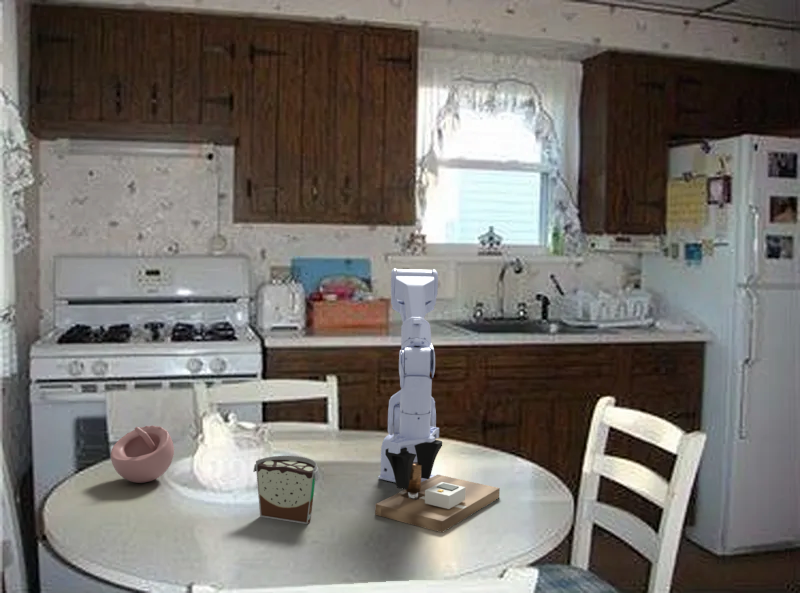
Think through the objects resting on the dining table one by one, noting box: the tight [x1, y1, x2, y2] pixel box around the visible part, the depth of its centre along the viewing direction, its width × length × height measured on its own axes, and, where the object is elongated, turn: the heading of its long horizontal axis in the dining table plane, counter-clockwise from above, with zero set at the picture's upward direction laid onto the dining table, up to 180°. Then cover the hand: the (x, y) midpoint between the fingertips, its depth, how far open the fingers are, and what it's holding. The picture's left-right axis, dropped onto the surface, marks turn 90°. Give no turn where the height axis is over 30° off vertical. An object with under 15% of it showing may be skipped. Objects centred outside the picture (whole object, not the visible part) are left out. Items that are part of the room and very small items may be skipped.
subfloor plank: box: [374, 474, 500, 533], centre depth 144 cm, size 14×22×2 cm, turn 147°
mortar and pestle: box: [110, 425, 175, 484], centre depth 154 cm, size 12×12×11 cm
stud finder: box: [425, 482, 466, 509], centre depth 140 cm, size 5×6×3 cm
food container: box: [253, 455, 320, 525], centre depth 138 cm, size 12×6×10 cm, turn 71°
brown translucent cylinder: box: [406, 462, 422, 500], centre depth 144 cm, size 3×3×8 cm
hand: (413, 483), depth 144 cm, fingers open, 7 cm apart
